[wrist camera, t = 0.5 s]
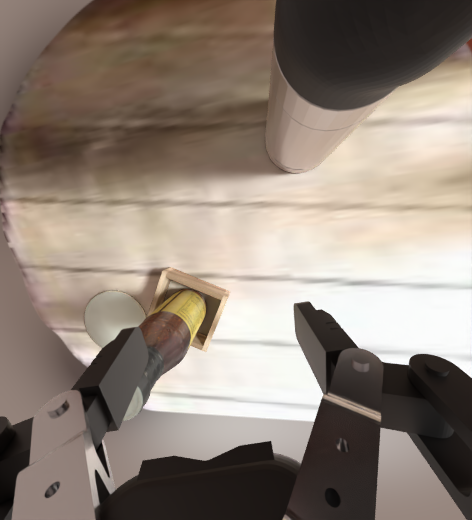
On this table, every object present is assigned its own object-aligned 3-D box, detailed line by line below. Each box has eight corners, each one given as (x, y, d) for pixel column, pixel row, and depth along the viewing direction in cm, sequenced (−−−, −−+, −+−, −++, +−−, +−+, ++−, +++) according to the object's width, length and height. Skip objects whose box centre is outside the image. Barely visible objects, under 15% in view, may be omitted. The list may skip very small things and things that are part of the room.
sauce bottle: (174, 324, 37) (80, 437, 17) (168, 288, 36) (60, 364, 16) (212, 321, 36) (158, 436, 16) (207, 284, 35) (143, 359, 16)
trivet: (95, 280, 37) (93, 281, 36) (155, 305, 36) (153, 307, 36) (80, 336, 39) (77, 337, 38) (136, 360, 39) (135, 362, 38)
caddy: (170, 267, 35) (162, 271, 32) (230, 291, 35) (227, 297, 32) (153, 317, 37) (144, 325, 34) (210, 341, 37) (205, 352, 34)
